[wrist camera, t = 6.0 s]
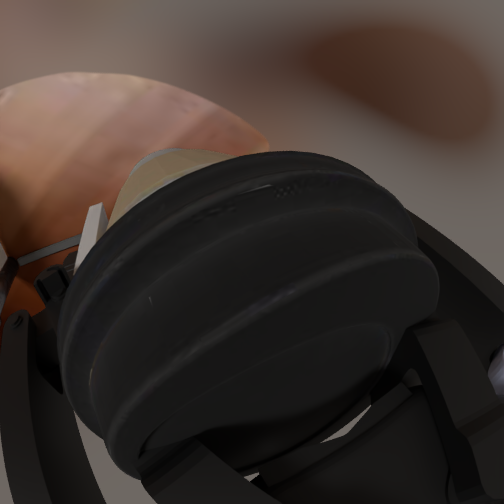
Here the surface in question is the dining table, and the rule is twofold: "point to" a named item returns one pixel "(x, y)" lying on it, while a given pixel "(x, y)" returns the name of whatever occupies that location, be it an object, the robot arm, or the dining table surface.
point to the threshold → (50, 249)
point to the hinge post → (7, 279)
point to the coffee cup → (239, 305)
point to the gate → (2, 257)
